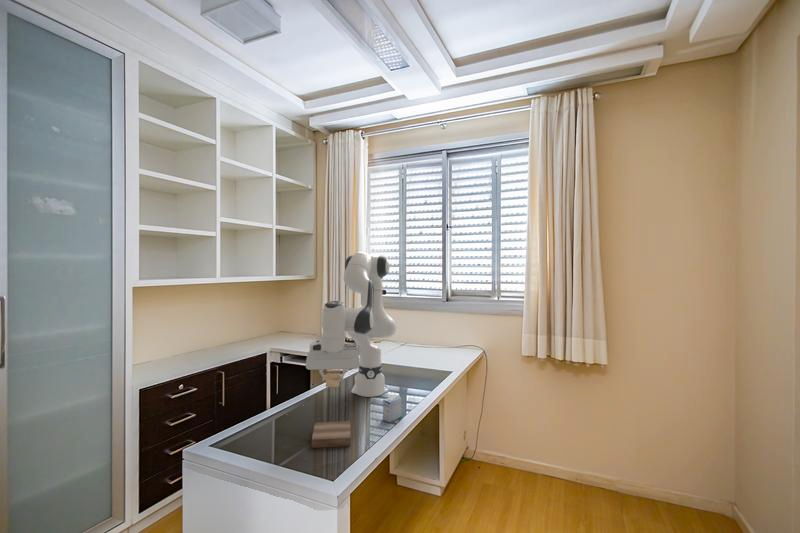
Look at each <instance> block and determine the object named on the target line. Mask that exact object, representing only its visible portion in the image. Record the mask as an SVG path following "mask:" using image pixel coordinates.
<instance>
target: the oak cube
mask: <svg viewBox="0 0 800 533" xmlns="http://www.w3.org/2000/svg"><path fill="white" fill-rule="evenodd" d="M340 370H341V369H326V372H325V375H326V381H325V388H333V387H334V388H336V387H338V388H339V387H340V383H341V382H340V381H341V380H339V379H340V378H339V377H340V375H341V371H340Z"/></svg>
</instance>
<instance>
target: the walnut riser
mask: <svg viewBox="0 0 800 533" xmlns="http://www.w3.org/2000/svg"><path fill="white" fill-rule="evenodd" d="M351 433H352V432H351V421H350V420H347V421H321V422H320V421H319V422H314V426H313V432H312V436H311V448H312V449H313V448H315V449H316V448H332V447H333V448H334V447H350V446H351V440H352V439H351Z"/></svg>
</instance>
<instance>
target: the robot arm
mask: <svg viewBox="0 0 800 533" xmlns="http://www.w3.org/2000/svg"><path fill="white" fill-rule="evenodd" d="M390 264H391V263H390V259H389V258H388V257H387V256H386V255H381V254H378V255H377V254H370V253H369V254H368V253H366V252H364V251H358V252H355V253H354V254H353V255H349V256H348V257H347V258H346V259H345V263H344V269H345V270H344V274H343V282H344V285H346V287H347V288H348V289H349V290H351V291H352V292H354V293H357V294H360V305H361V307H358V308H357V307H356V308H355V307H353V308H352V307H345V304H344V302H342V301H340V300H332V301H328V302H326V303H325V304H324V305H323V309H322V315H321V316H322V317H321V318H322V319H321V327H322V334H321V338H320V339H317V340H315V341H312V342H311V343H310V344H309V351H308V352H307V356H306V359H305V368H306V369H307V370H311V371H314V370H317V371H319V374H320V376H321V377H322V380H321V381H322V382H324V381H325V382H326V374H325V373H324V370H335V369H340V370H342V373H341V374H340V377H339V378H340V379H339V380H340V381H344V377H345V375H346V373H347V370H354V369H355V370H357V369H358V373H357V374H356V376H354V381H355V382H354V385H353V386H352V389H351V392H350V393H352V394H354V395H355V394H356V395H358V396H360V397H364V398H365V397H367V398H371V397H372V398H373V397H378V396H382V395H383V394H386V393H387V392H389V388H387V387H386V386H385V385H386V383H385V381H386V380H385V375H384V373H382V372H383V366H382V350H381V348H380V347H379V346H378V345H376V344H375V343H373V342H371V340H370V339H387V338H392V337H394V335H395V334H396V332H397V331H396V330H397V324H396V322H395V320H394V319H393V318H392V317H391V316H390V315H389V314H388V313H387V311H386V310H385V307H384V300H383V278H384V277H386V276H387V275H388V274H389V271H390V269H391V268H390ZM346 333H347V335H348V336H349V337H350V338H351V339H352V340H353V341H354V343H346Z"/></svg>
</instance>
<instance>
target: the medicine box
mask: <svg viewBox="0 0 800 533" xmlns="http://www.w3.org/2000/svg"><path fill="white" fill-rule="evenodd" d="M402 411H403V398H402V397H401V396H398V395H395V394H394V395H392V396H389V397H387V398H385V399H383V400H382V420H383V421H385V422H387V423H392V422H393V421H395V420H396V421H397V419H400V418H401V417H402Z"/></svg>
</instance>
